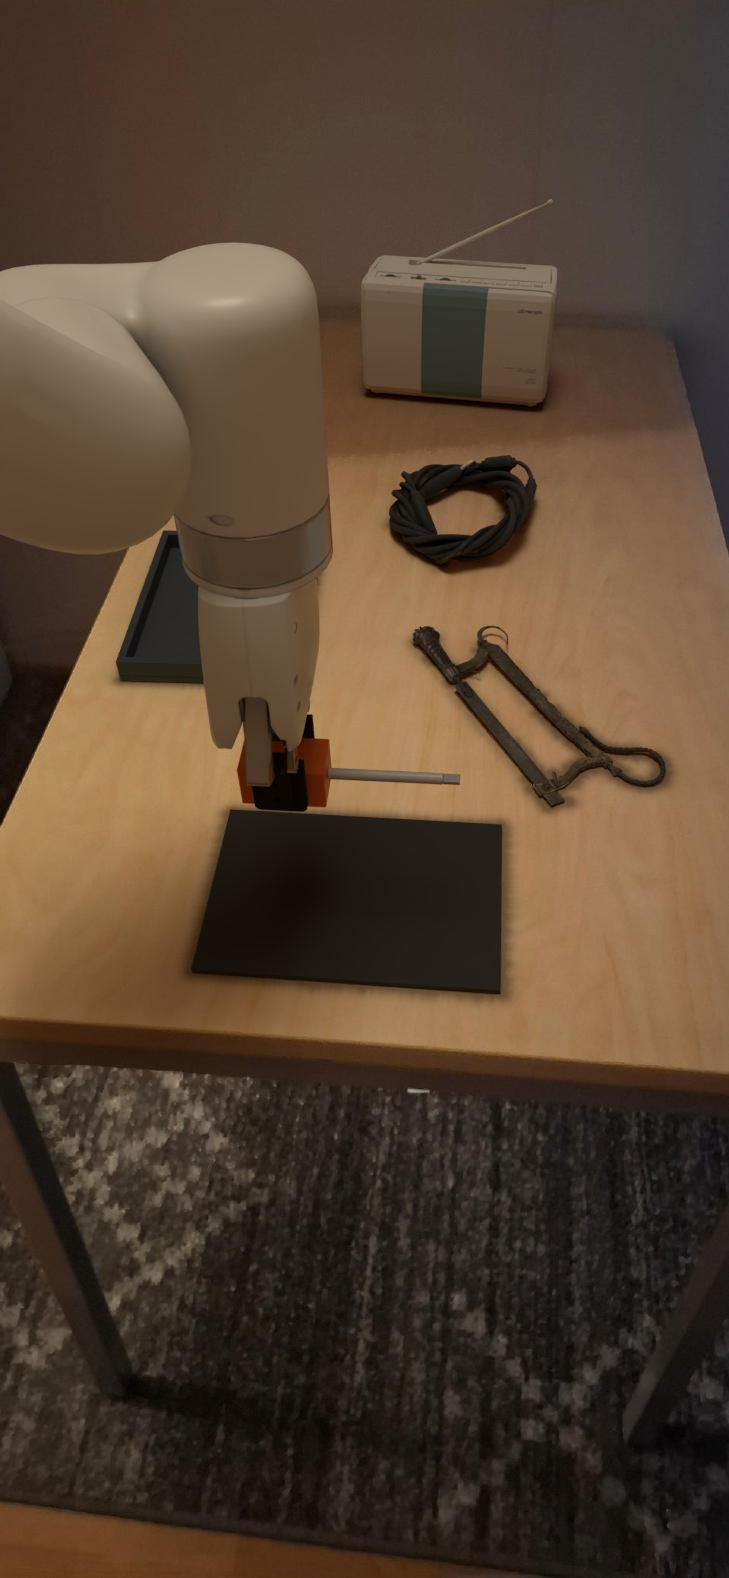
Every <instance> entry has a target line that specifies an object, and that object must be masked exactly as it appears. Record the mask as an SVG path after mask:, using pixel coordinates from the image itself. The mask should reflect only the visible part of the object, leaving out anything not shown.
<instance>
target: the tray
mask: <svg viewBox="0 0 729 1578" xmlns="http://www.w3.org/2000/svg"><path fill="white" fill-rule="evenodd" d="M198 586H199V585H197V584H196V583H195V582H194V581H193V580H191V578H190V577H189V576H188V575H187V573H186V572H185V569H184V566H183V562H182V556H181V551H180V546H179V541H178V535H177V530H170V529H169V530H168V529H167V530H164V529H163V530H162V532H161V535H160V538H159V540H158V543H157V546H156V548H155V552H154V554H153V557H152V560H151V563H150V566H149V568H148V571H147V574H146V576H145V579H144V582H143V584H142V587H141V590H140V594H139V596H138V598H137V602H136V603H135V607H134V610H133V613H132V616H131V618H130V621H129V624H128V626H127V629H126V632H125V635H124V638H123V640H122V643H121V646H120V649H119V652H118V654H117V656H116V660H115V664H116V669H117V672H118V676H119V679H120V681H121V682H122V681H123V682H127V681H128V682H153V683H156V682H158V683H159V682H160V683H191V684H204V679H203V671H202V662H201V652H200V641H199V625H198Z"/></svg>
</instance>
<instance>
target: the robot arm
mask: <svg viewBox="0 0 729 1578" xmlns="http://www.w3.org/2000/svg"><path fill="white" fill-rule="evenodd" d="M320 332H321V330H320V315H319V307H318V298H317V292H316V288H315V285H314V283H313V281H312V278H311V277H310V274H309V272H308V271H307V269H306V268H305V267H304V265H302V263H301V262H300V261H299V260H297V258H294V257H293V256H292V255H291V254H288V253H287V252H285V251H284V250H280V249H278V248H276V247H272V246H267V245H265V244H264V245H263V244H257V243H249V242H217V243H210V244H203V245H199V246H194V247H191V248H187V249H184V250H180V251H178V252H176V253H173V254H171V255H168V256H166V257H164V258H162V259H161V260H158V261H147V262H146V261H144V262H127V263H126V262H125V263H123V262H122V263H43V264H30V265H22V266H14V267H11V268H7V269H4V270H1V271H0V535H1V536H4V537H6V538H9V539H11V540H14V541H18V542H21V543H23V544H26V545H29V546H33V547H36V548H40V549H44V550H48V551H53V552H60V553H67V554H73V555H103V554H111V553H116V552H120V551H123V550H127V549H129V548H133V547H135V546H138V545H139V544H141V543H143V542H145V541H146V540H148V539H150V538H152V537H153V536H155V535H156V534H157V533H158V532H160V531H161V529H163V528H164V527H165V526H166V525H168V523H169V522H170V520H171V519H172V518H173V519H174V525H175V531H177V535H178V541H179V546H180V551H181V556H182V562H183V566H184V569H185V572H186V573H187V575H188V576H189V577H190V578H191V580H193V581H194V582H195V583H196V584H197V585H199V586H198V625H199V641H200V652H201V662H202V671H203V679H204V683H203V686H204V695H205V702H206V709H207V714H208V715H207V716H208V717H207V718H208V724H209V730H210V736H211V740H212V742H213V744H214V745H215V747H216V748H217V749H221V750H223V749H224V750H225V749H226V750H233V747H234V745H235V743H236V740H237V738H238V735H239V733H240V730H241V728H242V730H243V737H244V739H245V754H246V784H247V786H252V791H253V797H254V803H255V804H254V807H255V808H256V809H258V810H259V811H274V812H293V813H304V812H306V811H307V810H308V793H307V783H306V773H305V764H304V760H301V759H298V745H299V744H300V742H301V739H302V738H316V736H315V735H316V734H315V726H314V716H313V715H314V714H309V712H310V709H311V696H312V691H313V686H314V680H315V676H316V669H317V664H318V657H319V650H320V649H319V648H320V630H321V629H320V627H321V626H320V606H319V605H320V604H319V603H320V602H319V592H318V591H319V590H318V579H317V578H318V577H320V576H321V575H322V574H323V572H325V570H326V569H327V567H329V565H330V563H331V561H332V559H333V553H334V544H333V543H334V542H333V541H334V540H333V531H332V529H333V527H332V512H331V499H330V498H331V496H330V480H329V467H328V466H329V465H328V463H329V462H328V448H327V447H328V446H327V433H326V432H327V430H326V415H325V414H326V413H325V397H324V395H325V394H324V380H323V379H324V378H323V367H322V366H323V364H322V348H321V333H320ZM244 739H243V740H244ZM272 741H282V742H284V743H283V748H285V752H272Z"/></svg>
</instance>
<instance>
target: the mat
mask: <svg viewBox="0 0 729 1578" xmlns="http://www.w3.org/2000/svg"><path fill="white" fill-rule="evenodd" d="M502 855H503V824H501V823H500V824H499V823H485V822H484V823H482V822H466V821H465V822H464V821H445V820H430V819H413V818H410V819H409V818H393V817H378V816H377V817H376V816H357V815H342V814H341V815H339V814H322V813H304V812H289V811H271V810H251V809H234V808H233V809H232V808H231V809H230V810H229V813H228V818H227V822H226V826H225V830H224V834H223V838H222V843H221V846H220V850H219V854H218V859H217V862H216V867H215V871H214V874H213V879H212V883H211V886H210V891H209V894H208V899H207V902H206V907H205V911H204V916H203V920H202V922H201V923H202V924H201V927H200V932H199V936H198V940H197V944H196V947H195V952H194V956H193V959H192V964H191V968H190V970H191V972H192V973H197V974H209V975H210V974H212V975H225V976H227V975H228V976H242V977H252V978H266V979H271V978H272V979H281V980H285V979H286V980H294V981H295V980H297V981H311V982H324V983H326V982H327V983H340V984H341V983H342V984H352V985H353V984H356V985H370V986H384V987H385V986H387V987H399V988H412V989H426V990H442V991H457V992H468V993H470V992H471V993H486V994H501V991H502V990H501V987H502V986H501V980H502V979H501V978H502V975H501V973H502V970H501V969H502V967H501V966H502V875H503V874H502V871H503V870H502V868H503V867H502V865H503V864H502V863H503V860H502V859H503V858H502V857H503V856H502Z"/></svg>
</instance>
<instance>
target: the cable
mask: <svg viewBox="0 0 729 1578" xmlns="http://www.w3.org/2000/svg"><path fill="white" fill-rule="evenodd" d="M517 466H520V467H522V468H523V469H524V470H525V472H526V474H527V476H528V479H527V480H526V484H524V483H523V481H522V480H521V478H520V477H519V476H517V475H515V474H514V473H512V472H511V471H512V470H513V469H514V468H516V467H517ZM400 477H402V478H403V479H404V481H400V482H399V484H398V486H399V488H400V489H393V490H392V491H391V496H392V497H394V498H395V499H396V500H395V501H394V502H393V503H392V504H391V505H390V506H389V509H388V515H389V520H388V524H389V526H390V528H391V529H392V530H393V531H395V532H397V533H399V534H401V538H402V541H403V542H405V543H407V544H410V545H411V547H412V548H413V549H414V550H415V551H417V552H419V553H422V554H423V555H425V556H426V557H427V558H429V559H433V560H434V561H435V563H436V564H438V565H443V564H445V563H447V562H449V561H450V560H452V561H455V562H461V563H474V562H479V561H483V560H485V559H488V558H490V557H492V556H493V555H495V554H497V553H498V552H500V551H502V549H503V548H505V547H506V546H507V544H509V543H510V541H511V540H512V539H513V538H514V536H515V535H516V534H517V533H518V532H519V530H520V529H522V528H523V527H524V525H525V523H526V522H527V520H528V517H529V515H530V511H531V509H532V505H533V501H534V499H535V495H536V492H537V488H538V485H537V482H536V478H534V475H533V472H532V471H531V468H530V467H529V466H528V465H527V464H526V463H525V462H523V461H521V460H517V459H516V457H512V455H510V454H507V455H497V456H489V457H486V458H484V460H481V461H480V462H477V461H476V459H474V458H471V459H469V460H468V461H466V462H465V463H463V464H459V463H451V464H450V463H449V464H442V463H441V464H439V463H432V464H426V465H424V466H423V467H421V468H420V469H418V470H415V471H412V472H411V473H408V472H407V471H405V470H403V471H402V472H401V474H400ZM469 483H477V484H479V485H481V486H485V487H488V488H499V489H500V490H502V491H503V492H504V505H503V507H504V510H505V511H504V512H505V516H503V517H502V519H500V520H499V521H498V522H497V523H496V524H491V525H490V524H489V525H486V526H484V527H482V528H480V529H478V530H477V531H475V532H474V533H473V534H462V533H461V534H458V533H438V530H437V528H436V524H435V523H434V520H433V518H432V515H431V513H430V511H429V508H428V505H427V502H426V500H428V499H430V498H432V497H435V496H436V495H439V494H440V493H441V492H442V491H443V490H444V489H446V488H448V487H449V486H459V485H464V484H469Z"/></svg>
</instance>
